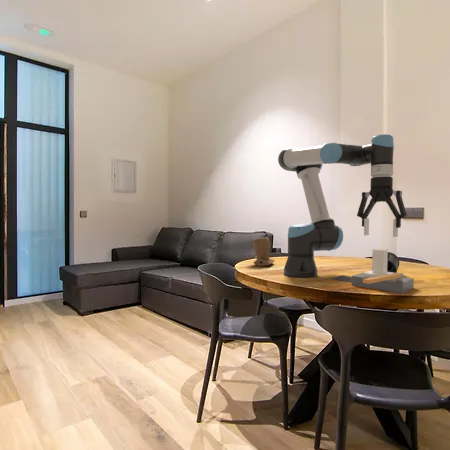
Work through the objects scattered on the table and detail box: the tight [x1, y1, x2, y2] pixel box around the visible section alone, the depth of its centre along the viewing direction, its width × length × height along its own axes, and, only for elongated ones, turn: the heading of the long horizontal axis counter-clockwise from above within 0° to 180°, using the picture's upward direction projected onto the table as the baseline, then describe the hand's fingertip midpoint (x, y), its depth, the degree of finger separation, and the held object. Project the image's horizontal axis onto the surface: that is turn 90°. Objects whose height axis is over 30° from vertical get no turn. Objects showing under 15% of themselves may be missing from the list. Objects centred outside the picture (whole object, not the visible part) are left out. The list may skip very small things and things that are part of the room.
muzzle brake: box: [387, 251, 400, 273], centre depth 140 cm, size 10×28×10 cm, turn 150°
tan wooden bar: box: [363, 272, 404, 284], centre depth 109 cm, size 21×2×1 cm, turn 123°
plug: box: [362, 248, 393, 278], centre depth 122 cm, size 9×9×14 cm
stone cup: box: [252, 237, 275, 267], centre depth 175 cm, size 15×12×15 cm
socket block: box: [351, 272, 415, 295], centre depth 121 cm, size 18×12×6 cm, turn 44°
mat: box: [330, 274, 352, 283], centre depth 135 cm, size 11×11×1 cm
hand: (380, 235), depth 121 cm, fingers open, 10 cm apart
